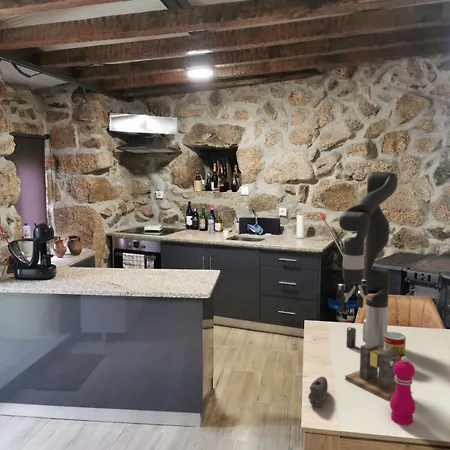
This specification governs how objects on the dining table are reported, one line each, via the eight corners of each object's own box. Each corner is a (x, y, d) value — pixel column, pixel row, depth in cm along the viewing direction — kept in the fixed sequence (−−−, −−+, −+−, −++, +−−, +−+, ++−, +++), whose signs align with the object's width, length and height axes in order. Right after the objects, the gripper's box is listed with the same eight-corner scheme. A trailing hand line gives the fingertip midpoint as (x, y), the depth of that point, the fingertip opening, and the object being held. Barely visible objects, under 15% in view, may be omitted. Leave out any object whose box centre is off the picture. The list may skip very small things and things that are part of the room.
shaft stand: (345, 379, 165) (346, 344, 164) (367, 371, 172) (368, 337, 170) (386, 400, 150) (388, 361, 149) (409, 390, 157) (410, 353, 155)
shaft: (344, 349, 170) (345, 328, 169) (350, 347, 172) (351, 326, 171) (388, 367, 154) (389, 345, 153) (394, 365, 156) (395, 343, 155)
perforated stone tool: (317, 387, 159) (317, 369, 158) (332, 391, 157) (332, 371, 156) (305, 408, 146) (305, 387, 145) (321, 411, 143) (322, 391, 143)
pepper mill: (385, 413, 142) (387, 352, 140) (407, 412, 143) (410, 351, 140) (395, 426, 135) (398, 362, 132) (419, 425, 135) (422, 361, 133)
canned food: (408, 367, 175) (410, 337, 174) (393, 370, 172) (394, 340, 171) (394, 359, 182) (395, 330, 181) (378, 362, 179) (379, 333, 178)
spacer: (369, 364, 159) (370, 351, 159) (379, 361, 162) (380, 348, 162) (377, 367, 157) (377, 354, 156) (386, 364, 160) (387, 351, 159)
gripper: (358, 262, 173) (357, 303, 175) (331, 267, 165) (330, 310, 167) (374, 265, 167) (373, 308, 169) (347, 270, 159) (346, 315, 161)
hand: (352, 309), depth 168 cm, fingers open, 8 cm apart
